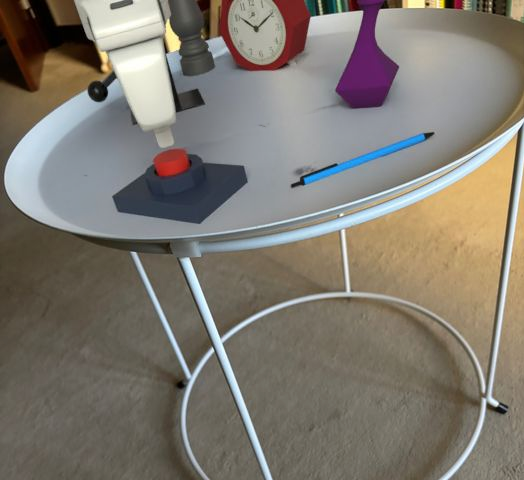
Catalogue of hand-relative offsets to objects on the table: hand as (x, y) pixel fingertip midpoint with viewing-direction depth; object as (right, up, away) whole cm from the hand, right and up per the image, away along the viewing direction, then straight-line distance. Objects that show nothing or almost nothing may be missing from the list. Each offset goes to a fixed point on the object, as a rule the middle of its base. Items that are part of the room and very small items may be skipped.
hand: (166, 142), depth 67 cm
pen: (+23, -2, +2) cm, 23 cm away
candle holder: (-1, +28, +43) cm, 52 cm away
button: (+1, -2, +2) cm, 3 cm away
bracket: (-5, +16, +31) cm, 35 cm away
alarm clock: (+13, +26, +37) cm, 48 cm away
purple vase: (+26, +11, +16) cm, 33 cm away
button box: (+1, -5, +4) cm, 7 cm away
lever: (-10, +20, +26) cm, 34 cm away
